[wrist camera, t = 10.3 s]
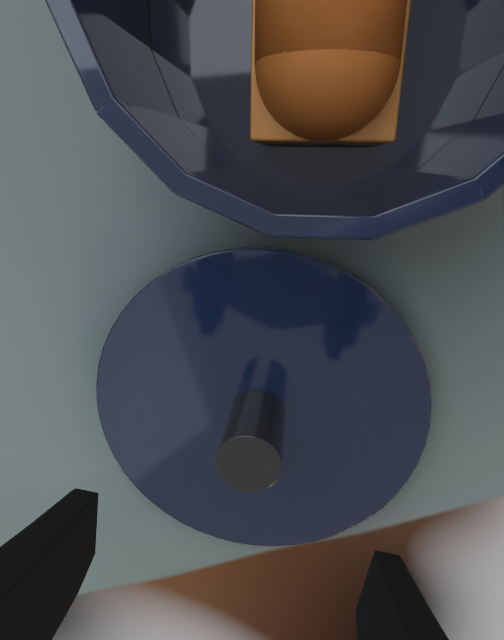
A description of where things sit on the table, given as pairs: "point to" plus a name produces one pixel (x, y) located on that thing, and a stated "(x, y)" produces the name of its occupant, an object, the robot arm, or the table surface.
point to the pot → (294, 160)
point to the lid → (263, 396)
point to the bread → (327, 71)
